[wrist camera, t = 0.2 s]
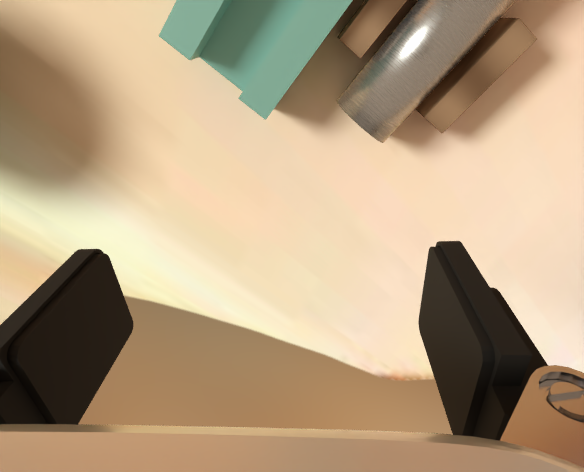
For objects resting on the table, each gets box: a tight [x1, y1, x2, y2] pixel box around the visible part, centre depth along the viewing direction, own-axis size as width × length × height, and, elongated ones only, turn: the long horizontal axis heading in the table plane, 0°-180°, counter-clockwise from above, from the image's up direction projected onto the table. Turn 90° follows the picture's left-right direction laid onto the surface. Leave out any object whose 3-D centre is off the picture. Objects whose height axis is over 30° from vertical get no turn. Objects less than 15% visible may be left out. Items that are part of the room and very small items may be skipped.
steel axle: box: [337, 0, 516, 143], centre depth 32 cm, size 18×6×6 cm, turn 142°
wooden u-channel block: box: [338, 0, 537, 133], centre depth 33 cm, size 10×13×4 cm
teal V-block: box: [159, 0, 353, 120], centre depth 32 cm, size 14×11×5 cm
